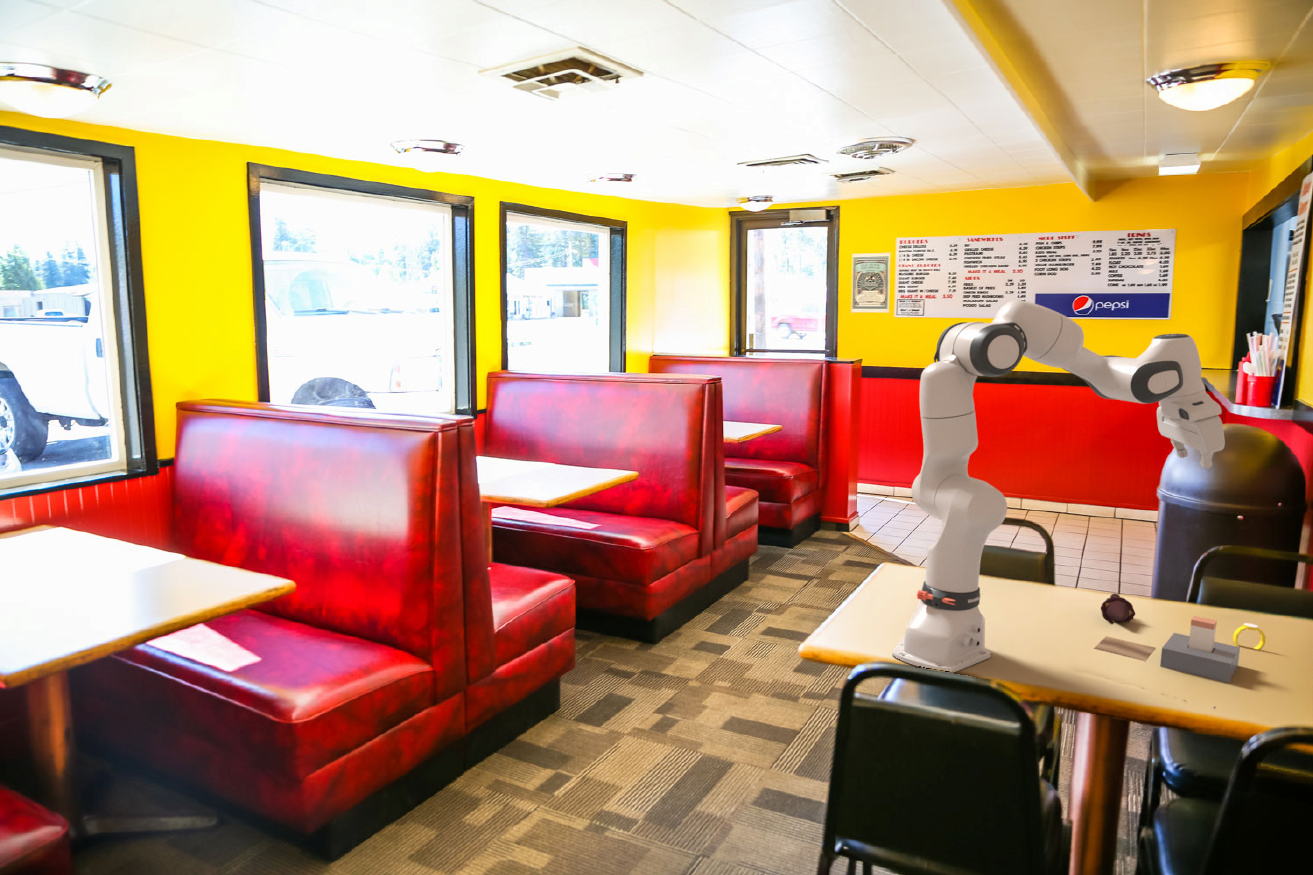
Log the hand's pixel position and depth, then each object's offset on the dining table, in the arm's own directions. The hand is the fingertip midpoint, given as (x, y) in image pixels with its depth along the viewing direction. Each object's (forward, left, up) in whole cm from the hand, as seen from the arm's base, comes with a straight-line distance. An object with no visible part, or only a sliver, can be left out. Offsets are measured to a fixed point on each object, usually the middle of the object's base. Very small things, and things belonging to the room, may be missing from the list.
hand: (1194, 461), depth 189 cm
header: (-19, -7, -41) cm, 46 cm away
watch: (+2, -13, -42) cm, 44 cm away
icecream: (+1, +13, -42) cm, 44 cm away
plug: (-19, -7, -40) cm, 45 cm away
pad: (-19, +7, -41) cm, 46 cm away
